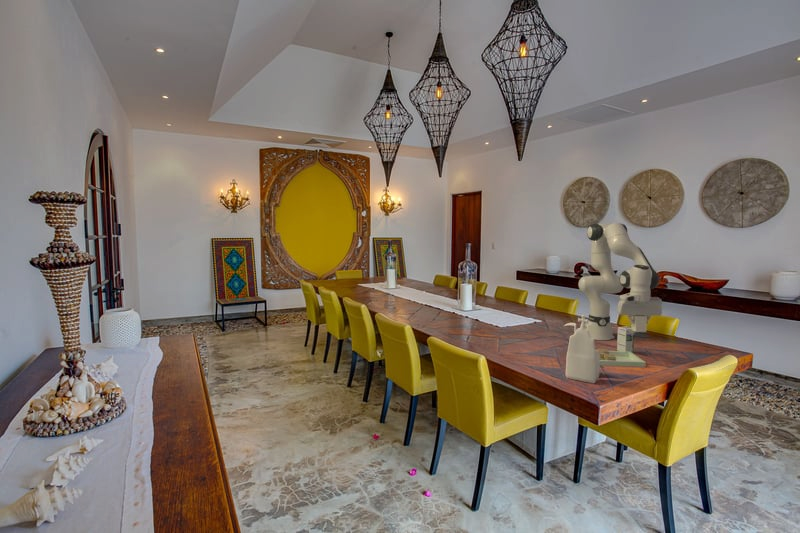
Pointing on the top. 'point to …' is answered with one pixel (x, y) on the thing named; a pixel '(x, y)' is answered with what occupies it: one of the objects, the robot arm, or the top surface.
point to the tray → (624, 360)
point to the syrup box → (625, 339)
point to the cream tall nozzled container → (582, 355)
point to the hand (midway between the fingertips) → (638, 323)
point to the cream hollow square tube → (639, 323)
